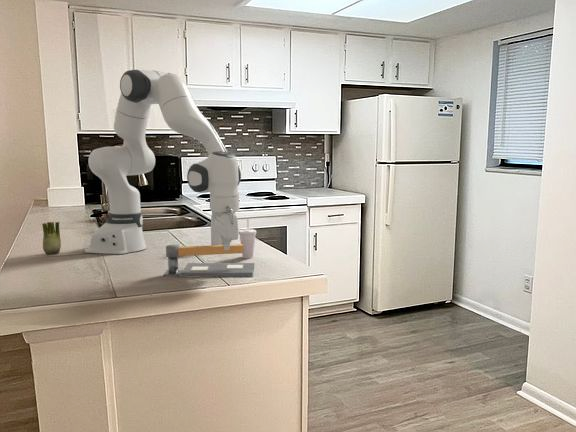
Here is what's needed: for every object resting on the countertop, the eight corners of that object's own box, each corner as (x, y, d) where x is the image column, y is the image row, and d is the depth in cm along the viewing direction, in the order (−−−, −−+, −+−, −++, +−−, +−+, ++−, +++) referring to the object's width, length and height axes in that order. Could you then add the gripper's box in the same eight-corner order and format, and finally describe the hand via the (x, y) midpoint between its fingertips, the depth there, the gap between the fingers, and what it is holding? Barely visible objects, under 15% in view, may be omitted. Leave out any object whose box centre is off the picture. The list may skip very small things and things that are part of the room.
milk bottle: (227, 251, 190) (226, 198, 187) (208, 250, 192) (207, 198, 189) (234, 247, 198) (233, 196, 195) (215, 246, 199) (214, 195, 196)
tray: (181, 276, 156) (181, 271, 156) (188, 266, 168) (188, 262, 168) (252, 276, 157) (252, 271, 156) (254, 266, 169) (254, 262, 168)
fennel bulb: (61, 252, 189) (59, 220, 187) (60, 255, 185) (58, 222, 183) (44, 253, 187) (42, 221, 186) (42, 256, 183) (40, 223, 181)
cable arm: (166, 257, 156) (165, 247, 155) (166, 254, 160) (166, 245, 159) (243, 254, 160) (243, 244, 160) (242, 251, 164) (242, 242, 164)
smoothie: (242, 260, 177) (242, 220, 175) (236, 256, 183) (235, 218, 180) (259, 258, 180) (259, 219, 178) (252, 254, 186) (252, 216, 183)
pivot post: (163, 276, 157) (163, 258, 156) (167, 272, 162) (166, 255, 161) (179, 276, 157) (179, 258, 156) (182, 271, 162) (182, 255, 161)
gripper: (243, 208, 146) (244, 255, 148) (227, 200, 165) (228, 242, 167) (221, 209, 144) (222, 257, 146) (208, 201, 163) (209, 243, 165)
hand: (225, 249), depth 157 cm, fingers closed
